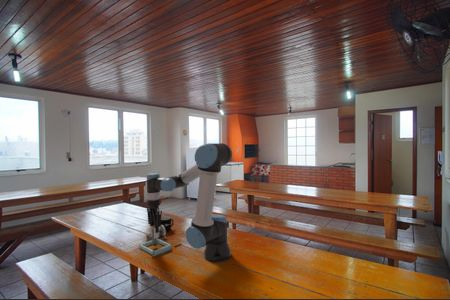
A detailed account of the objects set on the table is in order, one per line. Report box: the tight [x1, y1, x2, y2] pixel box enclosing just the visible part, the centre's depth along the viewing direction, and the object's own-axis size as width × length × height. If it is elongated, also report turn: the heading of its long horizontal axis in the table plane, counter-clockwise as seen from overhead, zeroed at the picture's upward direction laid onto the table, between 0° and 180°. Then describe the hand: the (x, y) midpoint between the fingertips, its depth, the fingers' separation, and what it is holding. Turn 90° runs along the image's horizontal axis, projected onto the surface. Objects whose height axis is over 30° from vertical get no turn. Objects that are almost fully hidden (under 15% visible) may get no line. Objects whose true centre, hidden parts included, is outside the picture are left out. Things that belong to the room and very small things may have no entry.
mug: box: [161, 215, 174, 233], centre depth 186 cm, size 12×9×10 cm
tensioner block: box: [145, 225, 167, 242], centre depth 168 cm, size 8×12×9 cm, turn 137°
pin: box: [151, 225, 159, 247], centre depth 153 cm, size 3×3×12 cm
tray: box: [138, 239, 173, 258], centre depth 153 cm, size 16×13×3 cm
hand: (154, 237), depth 153 cm, fingers closed on pin, 3 cm apart
